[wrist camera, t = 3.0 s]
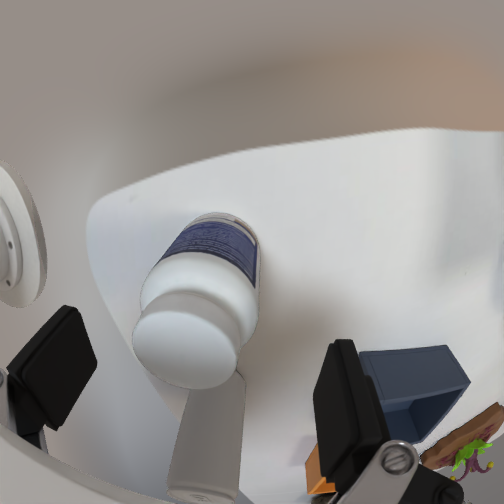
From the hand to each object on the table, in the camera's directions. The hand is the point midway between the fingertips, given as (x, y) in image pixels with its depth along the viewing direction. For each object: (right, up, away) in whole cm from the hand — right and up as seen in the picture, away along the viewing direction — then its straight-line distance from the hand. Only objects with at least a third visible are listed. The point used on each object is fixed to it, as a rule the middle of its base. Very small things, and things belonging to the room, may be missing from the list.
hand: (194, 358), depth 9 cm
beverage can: (-1, -8, +14) cm, 16 cm away
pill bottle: (0, +4, +9) cm, 10 cm away
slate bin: (+16, -10, +14) cm, 23 cm away
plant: (+45, -33, +23) cm, 60 cm away
